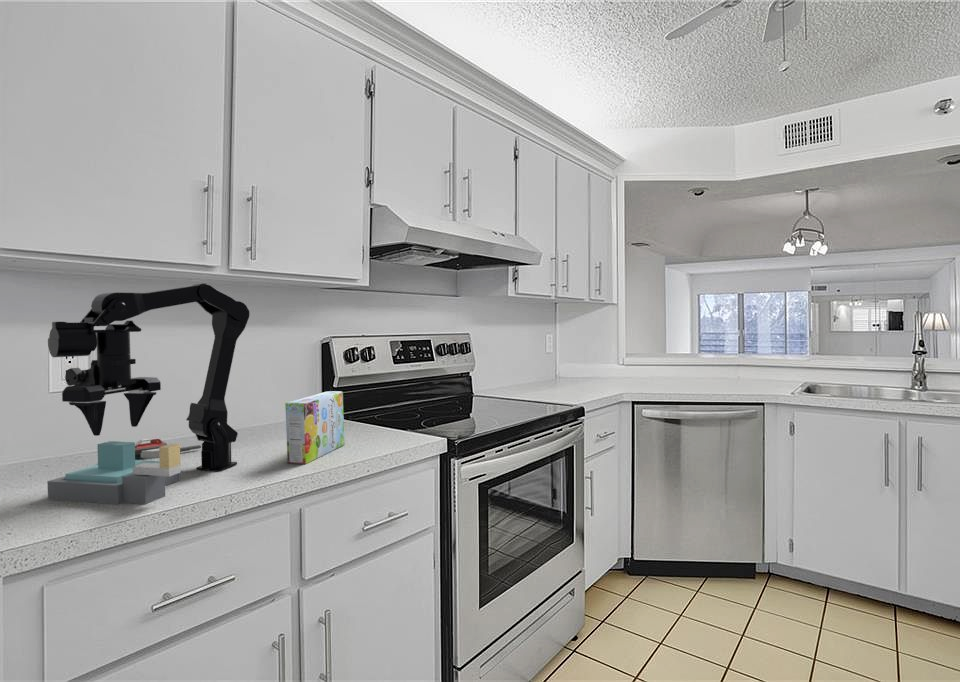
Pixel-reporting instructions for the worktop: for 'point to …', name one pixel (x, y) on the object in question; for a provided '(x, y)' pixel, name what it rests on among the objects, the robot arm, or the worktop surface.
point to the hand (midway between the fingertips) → (116, 430)
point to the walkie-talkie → (153, 448)
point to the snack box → (314, 426)
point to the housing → (112, 489)
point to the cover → (110, 463)
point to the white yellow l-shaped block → (162, 463)
